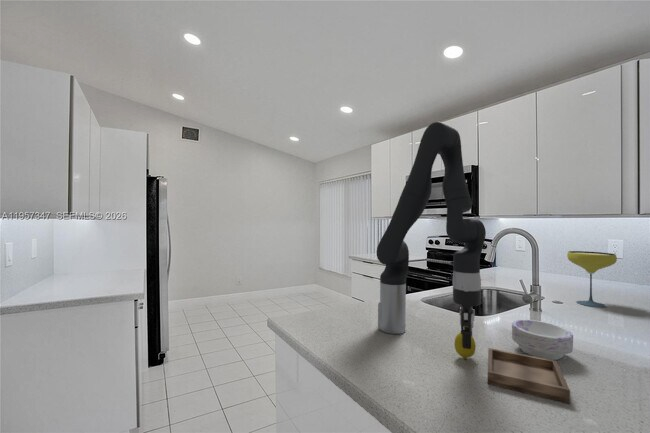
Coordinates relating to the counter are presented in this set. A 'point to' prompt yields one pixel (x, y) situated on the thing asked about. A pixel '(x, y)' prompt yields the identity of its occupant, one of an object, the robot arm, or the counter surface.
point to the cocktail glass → (591, 267)
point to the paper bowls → (542, 339)
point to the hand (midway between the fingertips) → (467, 342)
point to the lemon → (463, 351)
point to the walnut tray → (527, 375)
